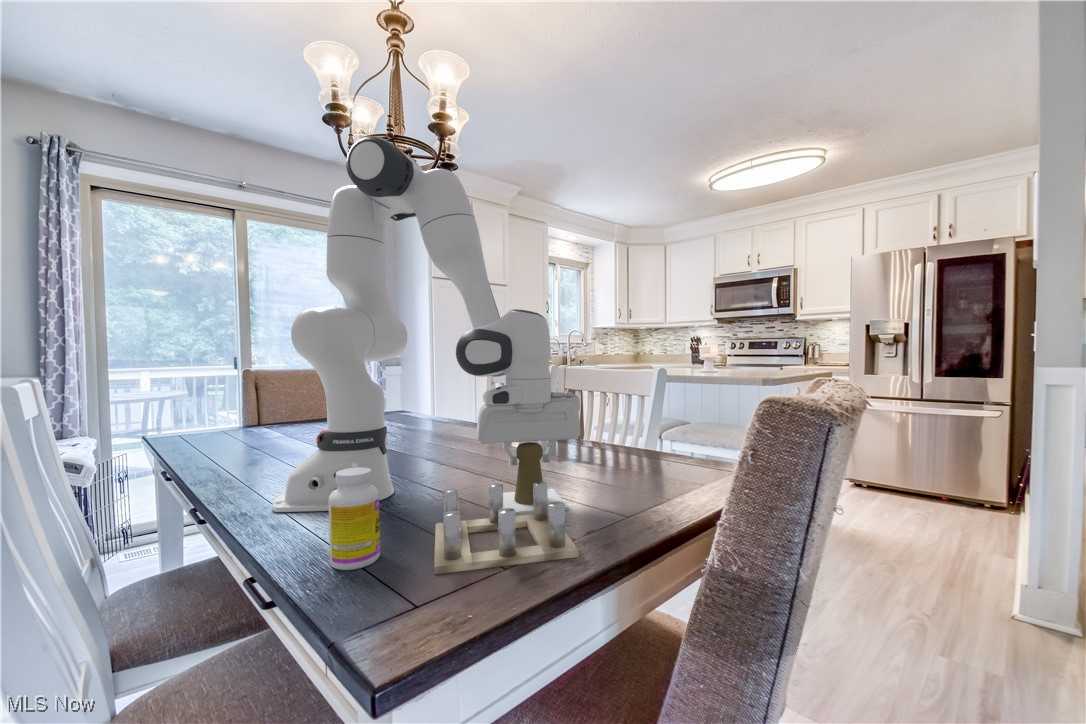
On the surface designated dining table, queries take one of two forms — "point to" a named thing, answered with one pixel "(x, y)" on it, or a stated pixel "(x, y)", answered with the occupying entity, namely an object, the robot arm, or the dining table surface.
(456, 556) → the steel spacers
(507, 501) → the mat
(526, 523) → the board
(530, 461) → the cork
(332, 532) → the supplement bottle
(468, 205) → the robot arm
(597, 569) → the dining table surface
